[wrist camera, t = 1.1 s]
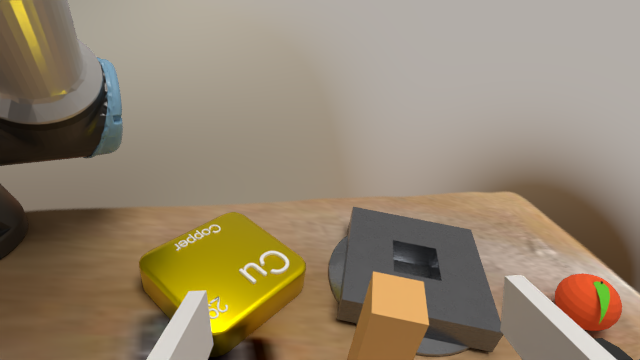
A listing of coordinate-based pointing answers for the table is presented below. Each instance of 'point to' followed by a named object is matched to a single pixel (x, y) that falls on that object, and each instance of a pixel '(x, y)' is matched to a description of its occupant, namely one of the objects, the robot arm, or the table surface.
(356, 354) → the orange square prism
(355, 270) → the block with square hole
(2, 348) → the table surface
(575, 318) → the clementine
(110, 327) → the table surface
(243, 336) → the element tile
